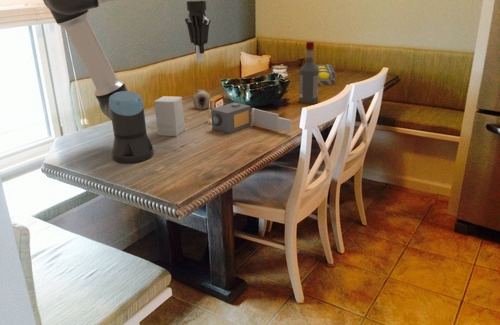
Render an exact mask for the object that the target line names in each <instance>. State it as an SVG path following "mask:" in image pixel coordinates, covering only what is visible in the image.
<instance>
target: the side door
mask: <svg viewBox="0 0 500 325" xmlns="http://www.w3.org/2000/svg"><path fill="white" fill-rule="evenodd" d="M251 126H256V127H260V128H264V129H268V130H271V131H276V132H279V130H282V131H286V132H292V120H291V119H289V118H284V117H280V115H279V114H278V113H275V112H270V111H268V110H261V109H258V108H255V107H252V108H251Z"/></svg>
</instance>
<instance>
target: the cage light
mask: <svg viewBox="0 0 500 325" xmlns="http://www.w3.org/2000/svg"><path fill="white" fill-rule="evenodd" d="M316 65H317V67H318V68H319V84H318V85H330V86H333V85H332V84H334V85H336V76H337V75H336V71H335V69H334V68H333V65H331V64H328V63H326V64H316Z"/></svg>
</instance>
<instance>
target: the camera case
mask: <svg viewBox="0 0 500 325" xmlns="http://www.w3.org/2000/svg"><path fill="white" fill-rule="evenodd" d="M210 110H211V128H212V130H214V131H217V132H221V133H225V134H232V133H235V132H237V131H241V130H243V129H246V128H248V127H251V126H252V108H251V105H249V104H244V103H240V102H239V103H238V102H235V101H234V102H230V103H227V104H224V105H220V106H216V107H213V108H211V109H210Z"/></svg>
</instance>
